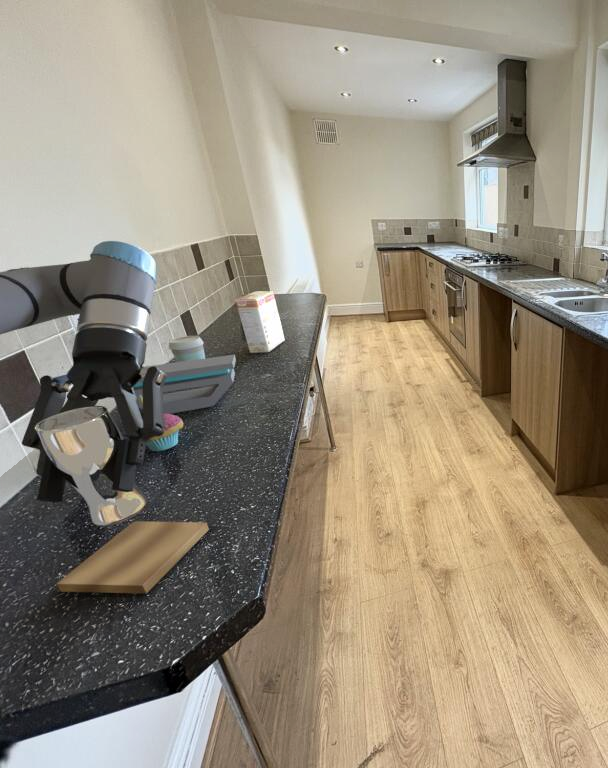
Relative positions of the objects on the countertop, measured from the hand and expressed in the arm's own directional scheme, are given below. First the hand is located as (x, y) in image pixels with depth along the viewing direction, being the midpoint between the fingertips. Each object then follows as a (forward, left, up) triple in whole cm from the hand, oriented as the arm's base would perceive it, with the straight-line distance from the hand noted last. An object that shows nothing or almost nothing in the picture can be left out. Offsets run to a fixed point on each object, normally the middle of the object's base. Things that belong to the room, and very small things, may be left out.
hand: (86, 495), depth 52 cm
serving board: (-1, +3, -14) cm, 15 cm away
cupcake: (-23, +34, -14) cm, 44 cm away
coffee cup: (-46, +74, -14) cm, 89 cm away
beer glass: (-1, +3, -6) cm, 7 cm away
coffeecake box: (-41, +104, -14) cm, 113 cm away
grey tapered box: (-33, +54, -14) cm, 65 cm away
